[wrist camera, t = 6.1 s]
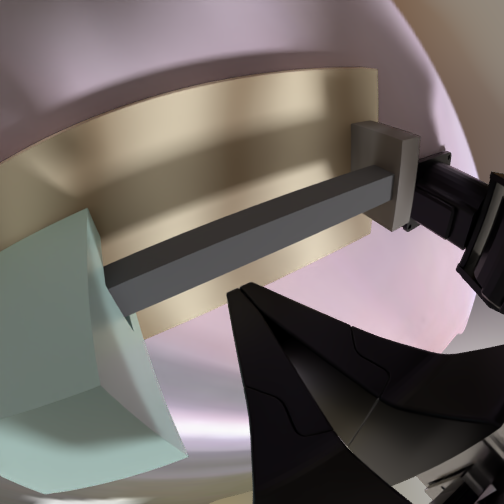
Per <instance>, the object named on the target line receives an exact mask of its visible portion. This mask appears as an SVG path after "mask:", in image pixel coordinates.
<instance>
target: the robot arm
mask: <svg viewBox="0 0 504 504" xmlns="http://www.w3.org/2000/svg"><path fill="white" fill-rule="evenodd" d="M450 162H451V152H448V151H444V152H441V153H438V154H435V155H432V156H429V157H426V158H423V159H420V160H418V167H417V175H416V182H415V189H414V196H413V202H412V208H411V214H410V219H409V223H407V224H405V225H403V229H404V230H405V231H407V232H409V231H411V230H412V229H414V228H416V227H417V226H419V225H422V226H424V227H426V228H427V229H429V230H430V231H432V232H434V233H435V234H437V235H438V236H440V237H441V238H443V239H445V240H446V239H447V240H448V241H450V242H451V243H453V244H454V245H456V246H457V247H459V248H460V249H462V250H464V249H466V250H465V252H464V254H463V257H462V259H461V261H460V263H459V264H458V265H457V268H456V271H457V272H458V273H459V274H460V275H461V277H462V278H463V279H464V280H465V281H466V282H467V283H468V284H469V285H470V287H471V288H472V289H473V290H474V291H475V292H476V293H477V294H478V295H479V297H480V298H481V299H482V300H483V301H484V302H485V303H486V305H487V306H488V307H489V308H492V309H494V310H495V311H498V312H500V313H502V314H504V174H503V173H497V172H491V174H490V182H489V185H488V184H486V183H484V182H482V181H480V180H478V179H477V178H475V177H473V176H471V175H469V174H467V173H465V172H463V171H460V170H458V169H456V168H454V167H452V166H450ZM226 297H227V302H228V308H229V314H230V319H231V325H232V330H233V336H234V341H235V347H236V352H237V357H238V362H239V368H240V373H241V378H242V383H243V387H244V394H245V399H246V404H247V410H248V416H249V427H250V440H251V460H252V480H253V504H412V503H411V502H410V501H409V500H407V499H406V498H405V497H404V496H402V495H401V494H400V493H399V492H397V491H396V490H395V489H394V488H393V487H391V486H393V485H395V484H398V483H400V482H403V481H405V480H408V479H410V478H412V477H414V476H417V477H418V478H419V480H420V481H421V482H422V483H423V484H424V485H425V486H426V487H427V488H426V489H425V492H426V493H427V494H428V495H429V497H430V498H431V499H432V500H433V501H432V502H431V503H429V504H504V345H499V346H495V347H490V348H485V349H480V350H475V351H469V352H464V353H458V354H439V353H434V352H430V351H426V350H422V349H419V348H415V347H412V346H408V345H404V344H401V343H398V342H394V341H391V340H388V339H385V338H382V337H379V336H376V335H374V334H371V333H368V332H366V331H363V330H361V329H359V328H356V327H354V326H352V327H351V326H350V325H349V324H347V323H344V322H342V321H340V320H337V319H335V318H333V317H330V316H328V315H326V314H323V313H321V312H319V311H316V310H314V309H312V308H310V307H307V306H305V305H303V304H300V303H298V302H296V301H294V300H291V299H289V298H287V297H285V296H282V295H280V294H278V293H276V292H274V291H271V290H269V289H267V288H265V287H262V286H260V285H258V284H256V283H254V282H249V283H247V284H245V285H242V286H240V288H236V289H234V290H231V291H229V292H227V293H226ZM333 430H334V431H333ZM338 436H339V437H340V438H341V439H340V438H339V437H338ZM341 440H342V441H343V442H344V443H345V444H346V445H347V446H348V448H349V449H350V450H351V451H352V452H353V453H354V454H353V453H352V452H351V451H350V450H349V449H348V448H347V447H346V446H345V444H344V443H343V442H342V441H341Z"/></svg>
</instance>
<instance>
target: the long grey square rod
mask: <svg viewBox="0 0 504 504" xmlns="http://www.w3.org/2000/svg"><path fill="white" fill-rule="evenodd" d="M394 177H395V174H393V173H391V172H389V171H387V170H385V169H382V168H380V167H378V166H376V165H371V166H368V167H365V168H362V169H359V170H356V171H353V172H349V173H346V174H343V175H340V176H337V177H334V178H331V179H328V180H325V181H323V182H320V183H317V184H314V185H311V186H308V187H305V188H302V189H299V190H296V191H294V192H291V193H288V194H285V195H282V196H280V197H277V198H274V199H271V200H268V201H266V202H263V203H260V204H258V205H255V206H252V207H249V208H247V209H244V210H241V211H239V212H236V213H233V214H231V215H228V216H225V217H223V218H220V219H218V220H215V221H212V222H210V223H207V224H205V225H202V226H200V227H197V228H195V229H192V230H190V231H187V232H185V233H182V234H180V235H177V236H175V237H172V238H170V239H167V240H165V241H162V242H160V243H157V244H155V245H153V246H150V247H148V248H145V249H143V250H141V251H138V252H136V253H133V254H131V255H129V256H126V257H124V258H122V259H119V260H117V261H115V262H112V263H110V264H108V265H106V266H103V269H104V277H105V285H106V287H107V289H108V291H109V292H110V294H111V296H112V297H113V299H114V301H115V303H116V304H117V306H118V308H119V309H120V311H121V312H122V314H123V316H124V317H127V316H129V315H131V314H134V313H136V312H138V311H141V310H143V309H145V308H148V307H150V306H152V305H155V304H157V303H159V302H162V301H164V300H166V299H169V298H171V297H173V296H176V295H178V294H180V293H183V292H185V291H187V290H189V289H192V288H194V287H196V286H199V285H201V284H203V283H206V282H208V281H210V280H212V279H215V278H217V277H219V276H222V275H224V274H226V273H228V272H231V271H233V270H235V269H238V268H240V267H242V266H244V265H247V264H249V263H251V262H254V261H256V260H258V259H260V258H263V257H265V256H267V255H269V254H272V253H274V252H276V251H278V250H281V249H283V248H285V247H288V246H290V245H292V244H294V243H297V242H299V241H301V240H303V239H306V238H308V237H310V236H312V235H314V234H317V233H319V232H321V231H323V230H326V229H328V228H330V227H332V226H335V225H337V224H339V223H341V222H344V221H346V220H348V219H350V218H352V217H355V216H357V215H359V214H361V213H363V212H366V211H368V210H370V209H372V208H375V207H377V206H379V205H381V204H383V203H386V202H388V201H390V200H392V195H393V187H394Z"/></svg>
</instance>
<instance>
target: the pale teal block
mask: <svg viewBox="0 0 504 504" xmlns="http://www.w3.org/2000/svg"><path fill="white" fill-rule="evenodd" d="M187 457H189V456H188V454H187V452H186V449H185V447H184V445H183V443H182V441H181V438H180V436H179V434H178V431H177V429H176V427H175V424H174V422H173V420H172V417H171V415H170V412H169V410H168V407H167V405H166V402H165V400H164V397H163V394H162V392H161V389H160V386H159V383H158V381H157V378H156V375H155V372H154V369H153V366H152V364H151V361H150V358H149V354H148V351H147V348H146V345H145V342H144V339H143V335H142V332H141V329H140V325H139V322H138V318H137V315H136V313H134V314H131V315H129V316H127V317H124V316H123V314H122V312H121V311H120V309H119V308H118V306H117V304H116V303H115V301H114V299H113V297H112V296H111V294H110V292H109V291H108V289H107V287H106V285H105V277H104V269H103V260H102V250H101V239H100V235H99V233H98V231H97V228H96V226H95V224H94V222H93V219H92V217H91V215H90V212H89V210H88V208H86V209H83V210H81V211H79V212H77V213H75V214H73V215H70V216H68V217H66V218H64V219H62V220H60V221H58V222H56V223H54V224H52V225H50V226H48V227H46V228H44V229H42V230H40V231H38V232H36V233H34V234H32V235H30V236H28V237H26V238H24V239H22V240H20V241H19V242H17V243H15V244H13V245H11V246H10V247H8V248H6V249H4V250H2V251H1V252H0V476H2V477H4V478H6V479H8V480H11V481H13V482H15V483H17V484H20V485H22V486H25V487H27V488H30V489H32V490H35V491H38V492H40V493H43V494H50V493H57V492H64V491H70V490H75V489H81V488H86V487H90V486H95V485H99V484H104V483H108V482H112V481H116V480H120V479H123V478H127V477H130V476H134V475H137V474H140V473H144V472H147V471H150V470H153V469H156V468H159V467H162V466H165V465H168V464H171V463H173V462H176V461H179V460H182V459H184V458H187Z"/></svg>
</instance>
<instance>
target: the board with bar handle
mask: <svg viewBox="0 0 504 504" xmlns="http://www.w3.org/2000/svg"><path fill="white" fill-rule="evenodd" d="M419 148H420V136H418V135H415V134H412V133H409V132H406V131H403V130H400V129H397V128H394V127H391V126H388V125H385V124H382V123H378V69H373V68H365V67H332V68H311V69H298V70H287V71H277V72H269V73H261V74H254V75H247V76H241V77H235V78H229V79H224V80H219V81H214V82H209V83H204V84H199V85H195V86H191V87H187V88H183V89H179V90H175V91H171V92H167V93H164V94H160V95H156V96H153V97H150V98H146V99H143V100H140V101H137V102H134V103H131V104H128V105H125V106H122V107H119V108H116V109H113V110H110V111H108V112H105V113H102V114H100V115H97V116H95V117H92V118H90V119H87V120H85V121H82V122H80V123H78V124H75V125H73V126H71V127H68V128H66V129H64V130H62V131H59V132H57V133H55V134H53V135H51V136H49V137H47V138H45V139H43V140H41V141H39V142H37V143H35V144H33V145H31V146H29V147H27V148H25V149H24V150H22V151H20V152H18V153H16V154H15V155H13V156H11V157H9V158H8V159H6V160H4V161H2V162H1V163H0V252H1V251H2V250H4V249H6V248H8V247H10V246H11V245H13V244H15V243H17V242H19V241H20V240H22V239H24V238H26V237H28V236H30V235H32V234H34V233H36V232H38V231H40V230H42V229H44V228H46V227H48V226H50V225H52V224H54V223H56V222H58V221H60V220H62V219H64V218H66V217H68V216H70V215H73V214H75V213H77V212H79V211H81V210H83V209H86V208H88V210H89V212H90V215H91V217H92V219H93V222H94V224H95V226H96V228H97V231H98V233H99V235H100V239H101V250H102V260H103V266H106V265H108V264H110V263H112V262H115V261H117V260H119V259H122V258H124V257H126V256H129V255H131V254H133V253H136V252H138V251H141V250H143V249H145V248H148V247H150V246H153V245H155V244H157V243H160V242H162V241H165V240H167V239H170V238H172V237H175V236H177V235H180V234H182V233H185V232H187V231H190V230H192V229H195V228H197V227H200V226H202V225H205V224H207V223H210V222H212V221H215V220H218V219H220V218H223V217H225V216H228V215H231V214H233V213H236V212H239V211H241V210H244V209H247V208H249V207H252V206H255V205H258V204H260V203H263V202H266V201H268V200H271V199H274V198H277V197H280V196H282V195H285V194H288V193H291V192H294V191H296V190H299V189H302V188H305V187H308V186H311V185H314V184H317V183H320V182H323V181H325V180H328V179H331V178H334V177H337V176H340V175H343V174H346V173H349V172H353V171H356V170H359V169H362V168H365V167H368V166H371V165H376V166H378V167H380V168H382V169H385V170H387V171H389V172H391V173H393V174H395V177H394V187H393V195H392V200H390V201H388V202H386V203H383V204H381V205H379V206H377V207H375V208H372V209H370V210H368V211H366V212H363V213H361V214H359V215H357V216H355V217H352V218H350V219H348V220H346V221H344V222H341V223H339V224H337V225H335V226H332V227H330V228H328V229H326V230H323V231H321V232H319V233H317V234H314V235H312V236H310V237H308V238H306V239H303V240H301V241H299V242H297V243H294V244H292V245H290V246H288V247H285V248H283V249H281V250H278V251H276V252H274V253H272V254H269V255H267V256H265V257H263V258H260V259H258V260H256V261H254V262H251V263H249V264H247V265H244V266H242V267H240V268H238V269H235V270H233V271H231V272H228V273H226V274H224V275H222V276H219V277H217V278H215V279H212V280H210V281H208V282H206V283H203V284H201V285H199V286H196V287H194V288H192V289H189V290H187V291H185V292H183V293H180V294H178V295H176V296H173V297H171V298H169V299H166V300H164V301H162V302H159V303H157V304H155V305H152V306H150V307H148V308H145V309H143V310H141V311H138V312H136V315H137V318H138V322H139V325H140V329H141V332H142V335H143V339H144V340H145V339H147V338H150V337H152V336H154V335H157V334H159V333H161V332H164V331H166V330H168V329H171V328H173V327H175V326H177V325H180V324H182V323H184V322H187V321H189V320H191V319H193V318H196V317H198V316H200V315H202V314H204V313H207V312H209V311H211V310H213V309H216V308H218V307H220V306H222V305H224V304H227V303H228V302H227V297H226V293H227V292H229V291H231V290H234V289H236V288H240V286H242V285H245V284H247V283H249V282H254V283H256V284H258V285H260V286H262V287H263V286H265V285H267V284H269V283H272V282H274V281H276V280H278V279H280V278H282V277H284V276H286V275H288V274H290V273H292V272H294V271H296V270H299V269H301V268H303V267H305V266H307V265H309V264H311V263H313V262H315V261H317V260H319V259H321V258H323V257H325V256H327V255H329V254H331V253H333V252H335V251H337V250H339V249H341V248H343V247H345V246H347V245H349V244H351V243H353V242H355V241H357V240H359V239H361V238H362V237H364V236H366V235H368V234H370V232H371V224H372V220H374V221H376V222H377V223H379V224H380V225H382V226H383V227H385V228H387V229H388V230H390V231H391V232H393V231H394V230H396V229H398V228H400V227H402V226H403V225H405V224H407V223H409V219H410V214H411V208H412V202H413V196H414V189H415V182H416V175H417V167H418V158H419Z"/></svg>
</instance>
